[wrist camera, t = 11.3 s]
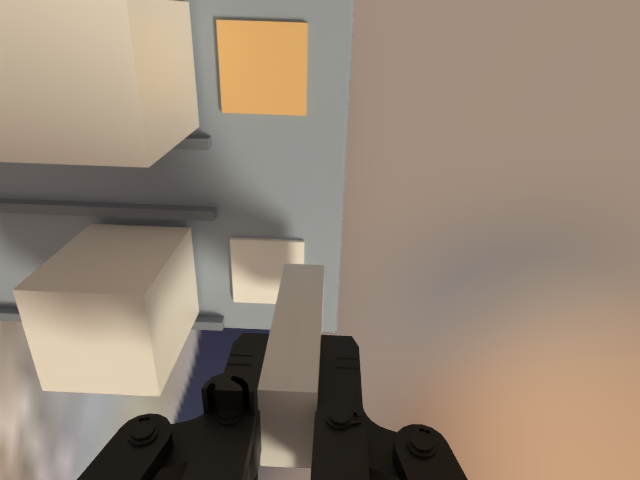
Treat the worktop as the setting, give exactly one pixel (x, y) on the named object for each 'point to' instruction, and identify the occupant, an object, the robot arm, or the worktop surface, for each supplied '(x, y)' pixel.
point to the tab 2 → (111, 309)
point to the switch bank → (220, 166)
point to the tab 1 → (95, 81)
